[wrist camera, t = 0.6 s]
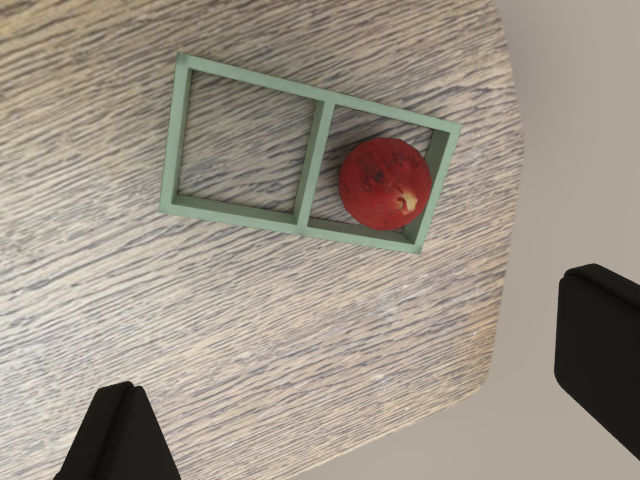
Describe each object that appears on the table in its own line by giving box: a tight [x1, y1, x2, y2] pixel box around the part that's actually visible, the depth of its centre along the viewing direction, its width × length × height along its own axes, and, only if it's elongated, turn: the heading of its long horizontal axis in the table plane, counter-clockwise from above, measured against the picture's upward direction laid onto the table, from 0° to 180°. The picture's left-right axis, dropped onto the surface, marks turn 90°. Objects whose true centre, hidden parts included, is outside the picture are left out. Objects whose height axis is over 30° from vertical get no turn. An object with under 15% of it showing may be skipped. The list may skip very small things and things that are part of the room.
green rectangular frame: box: [159, 52, 462, 255], centre depth 28 cm, size 9×18×2 cm, turn 77°
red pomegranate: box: [339, 137, 432, 231], centre depth 26 cm, size 6×6×8 cm
